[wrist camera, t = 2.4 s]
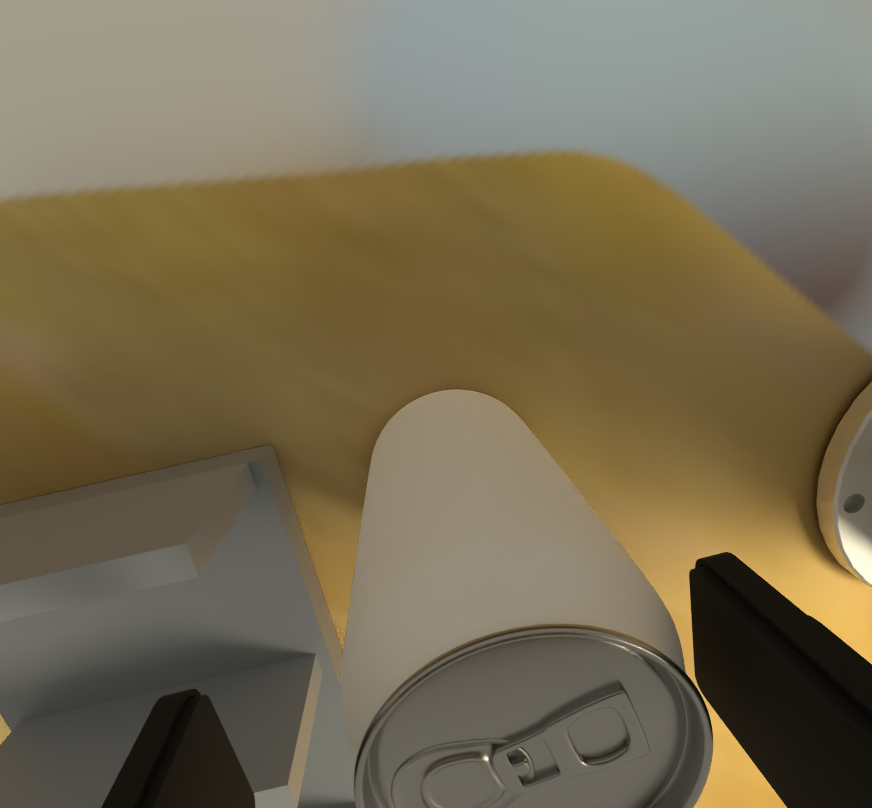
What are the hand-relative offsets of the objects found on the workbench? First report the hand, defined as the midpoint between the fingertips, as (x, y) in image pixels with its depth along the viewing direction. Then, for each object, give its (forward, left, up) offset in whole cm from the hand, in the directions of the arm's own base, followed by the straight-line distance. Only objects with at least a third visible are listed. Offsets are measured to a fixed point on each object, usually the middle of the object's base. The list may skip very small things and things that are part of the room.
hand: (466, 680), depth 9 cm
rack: (+12, +7, -10) cm, 17 cm away
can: (-1, 0, -10) cm, 10 cm away
